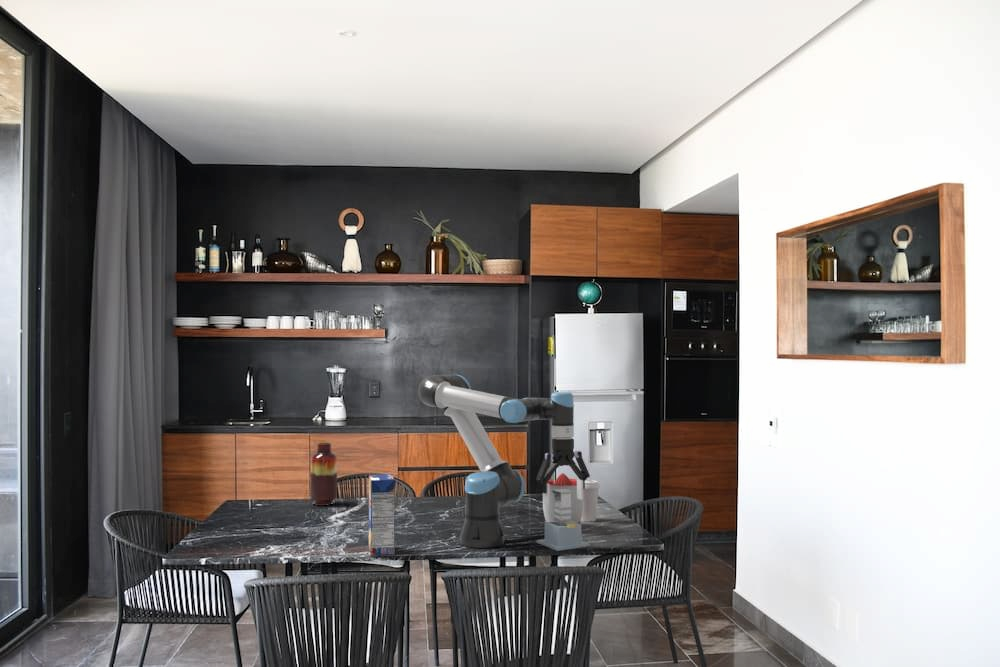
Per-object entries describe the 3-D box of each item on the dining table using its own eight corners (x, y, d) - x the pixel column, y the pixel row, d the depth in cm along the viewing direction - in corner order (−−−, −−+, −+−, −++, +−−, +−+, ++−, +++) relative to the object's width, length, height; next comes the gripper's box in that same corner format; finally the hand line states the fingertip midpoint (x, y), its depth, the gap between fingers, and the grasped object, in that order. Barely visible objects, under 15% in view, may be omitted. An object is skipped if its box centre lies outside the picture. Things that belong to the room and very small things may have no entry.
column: (560, 546, 257) (560, 492, 258) (552, 542, 262) (552, 490, 262) (573, 544, 260) (573, 491, 260) (565, 540, 264) (564, 488, 265)
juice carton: (368, 547, 257) (368, 474, 257) (391, 545, 258) (391, 474, 259) (371, 556, 245) (371, 480, 246) (394, 554, 247) (394, 479, 248)
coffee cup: (599, 523, 294) (598, 483, 295) (574, 522, 296) (573, 482, 296) (600, 517, 303) (600, 479, 304) (576, 516, 305) (576, 478, 306)
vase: (328, 500, 340) (328, 441, 340) (341, 504, 331) (342, 443, 332) (305, 503, 332) (306, 443, 333) (318, 507, 324) (319, 445, 325)
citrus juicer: (576, 520, 298) (576, 468, 299) (589, 530, 281) (589, 475, 282) (536, 522, 295) (536, 470, 296) (547, 532, 278) (547, 476, 279)
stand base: (557, 550, 252) (557, 526, 252) (536, 542, 263) (536, 519, 264) (589, 546, 258) (589, 522, 258) (568, 538, 270) (568, 515, 270)
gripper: (537, 441, 253) (538, 506, 252) (599, 436, 265) (600, 499, 264) (525, 439, 259) (526, 502, 258) (586, 435, 271) (587, 495, 270)
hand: (563, 501), depth 261 cm, fingers open, 13 cm apart
